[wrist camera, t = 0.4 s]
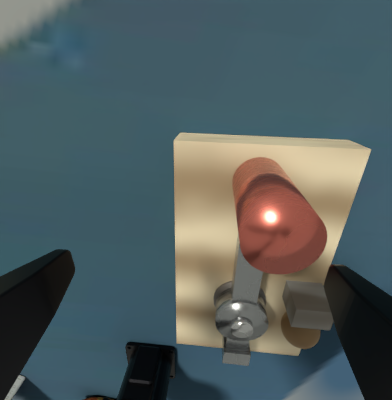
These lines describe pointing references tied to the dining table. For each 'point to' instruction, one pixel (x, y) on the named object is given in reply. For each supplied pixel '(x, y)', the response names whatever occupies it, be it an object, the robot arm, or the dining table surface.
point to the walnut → (299, 334)
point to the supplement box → (15, 387)
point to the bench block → (228, 230)
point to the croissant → (96, 398)
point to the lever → (263, 250)
